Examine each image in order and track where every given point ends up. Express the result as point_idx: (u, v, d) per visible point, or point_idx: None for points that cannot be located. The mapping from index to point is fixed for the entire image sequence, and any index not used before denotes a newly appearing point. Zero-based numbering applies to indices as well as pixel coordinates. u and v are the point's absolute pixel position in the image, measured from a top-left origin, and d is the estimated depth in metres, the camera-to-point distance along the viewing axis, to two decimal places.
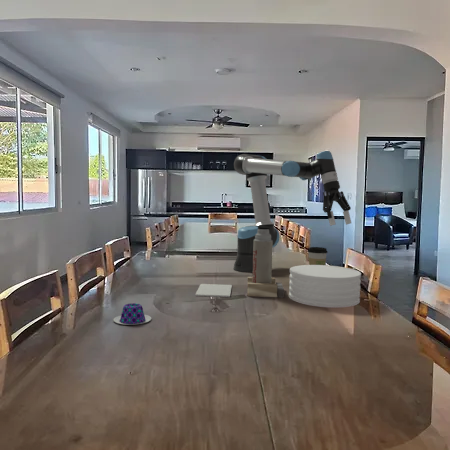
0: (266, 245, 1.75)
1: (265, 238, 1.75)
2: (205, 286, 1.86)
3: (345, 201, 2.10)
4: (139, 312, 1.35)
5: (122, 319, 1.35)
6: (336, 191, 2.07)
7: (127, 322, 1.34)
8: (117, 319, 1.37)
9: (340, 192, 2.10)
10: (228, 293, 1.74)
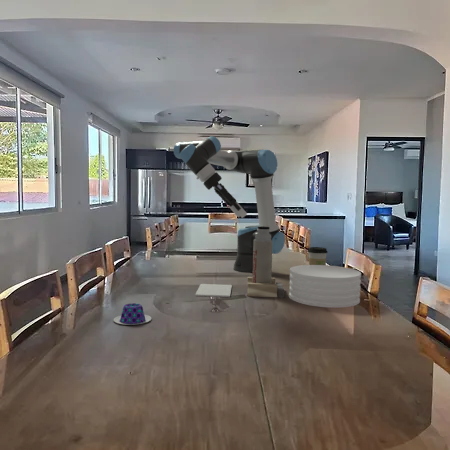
0: (266, 245, 1.75)
1: (265, 238, 1.75)
2: (205, 286, 1.86)
3: (224, 196, 1.70)
4: (139, 312, 1.35)
5: (122, 319, 1.35)
6: (215, 187, 1.76)
7: (127, 322, 1.34)
8: (117, 319, 1.37)
9: None
10: (228, 293, 1.74)
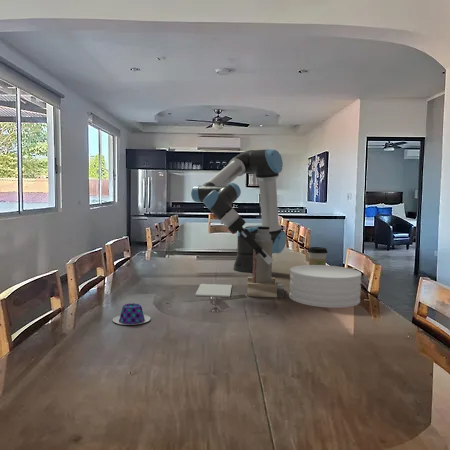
0: (266, 245, 1.75)
1: (265, 238, 1.75)
2: (205, 286, 1.86)
3: None
4: (138, 312, 1.35)
5: (121, 319, 1.35)
6: None
7: (126, 322, 1.34)
8: (116, 319, 1.37)
9: (242, 234, 1.73)
10: (228, 293, 1.74)
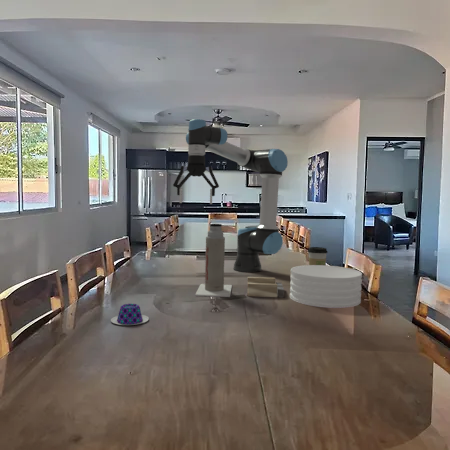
0: (217, 242, 1.76)
1: (217, 235, 1.76)
2: None
3: (212, 178, 1.88)
4: (138, 312, 1.36)
5: (121, 320, 1.34)
6: (199, 166, 1.87)
7: (128, 323, 1.33)
8: (114, 321, 1.36)
9: (209, 167, 1.88)
10: (228, 293, 1.74)
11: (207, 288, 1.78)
